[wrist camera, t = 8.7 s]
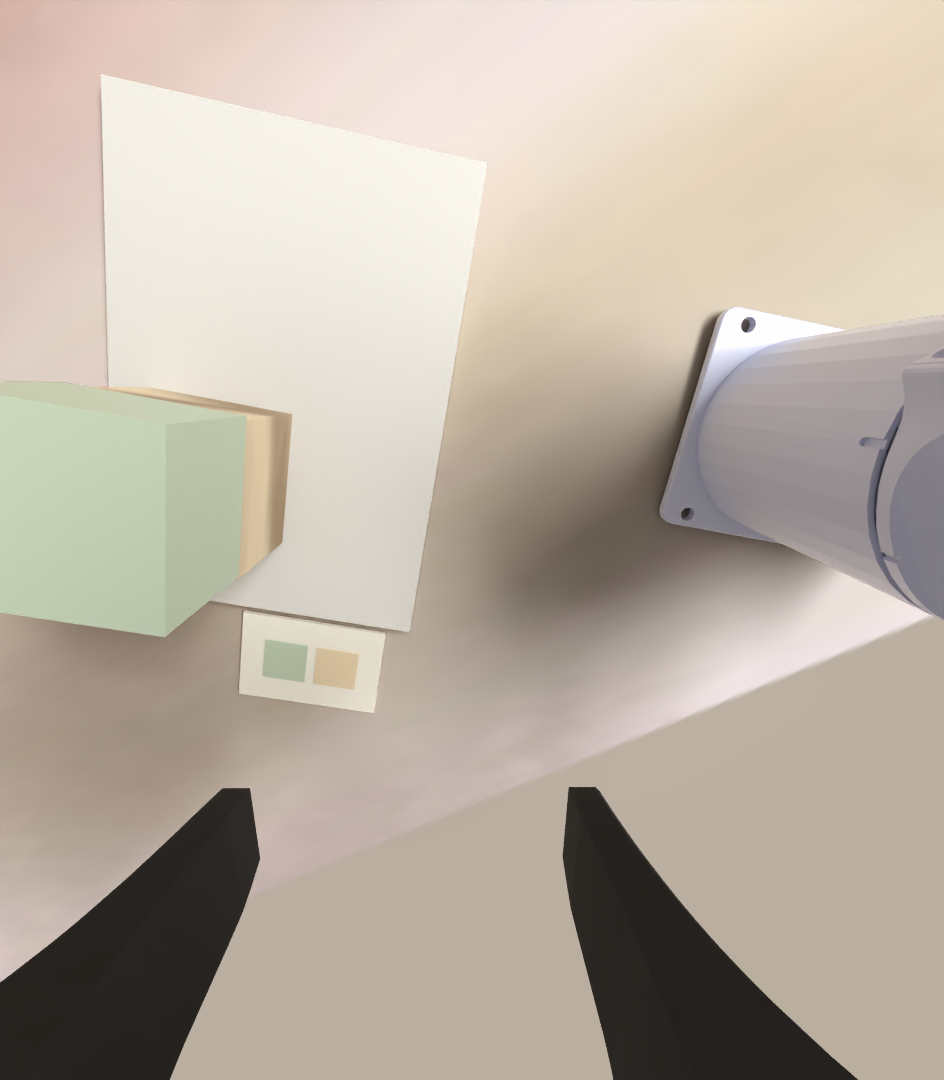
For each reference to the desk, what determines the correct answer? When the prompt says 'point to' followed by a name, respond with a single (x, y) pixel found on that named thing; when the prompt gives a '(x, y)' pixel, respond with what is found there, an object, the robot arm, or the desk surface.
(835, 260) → the desk surface
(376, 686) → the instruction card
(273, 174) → the plate
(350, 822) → the desk surface
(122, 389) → the beech block
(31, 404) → the sage block
